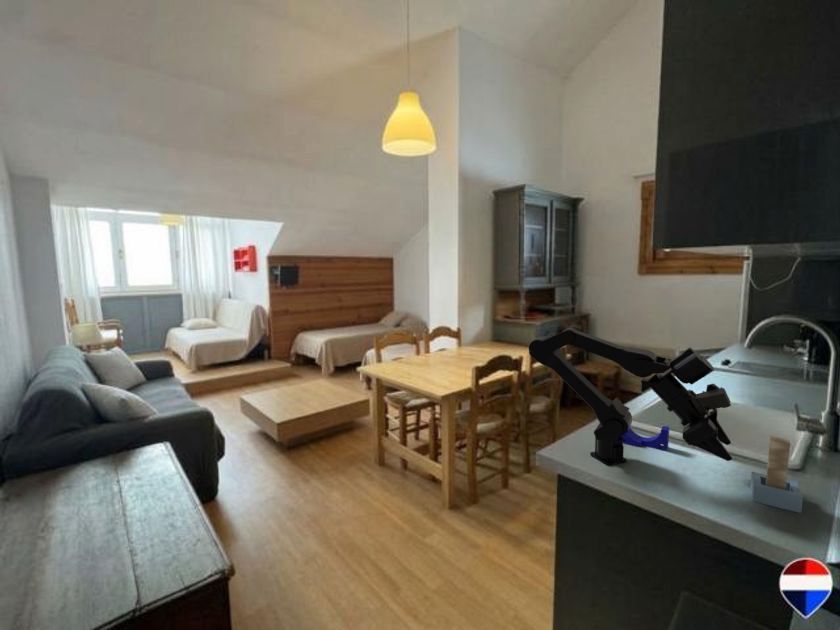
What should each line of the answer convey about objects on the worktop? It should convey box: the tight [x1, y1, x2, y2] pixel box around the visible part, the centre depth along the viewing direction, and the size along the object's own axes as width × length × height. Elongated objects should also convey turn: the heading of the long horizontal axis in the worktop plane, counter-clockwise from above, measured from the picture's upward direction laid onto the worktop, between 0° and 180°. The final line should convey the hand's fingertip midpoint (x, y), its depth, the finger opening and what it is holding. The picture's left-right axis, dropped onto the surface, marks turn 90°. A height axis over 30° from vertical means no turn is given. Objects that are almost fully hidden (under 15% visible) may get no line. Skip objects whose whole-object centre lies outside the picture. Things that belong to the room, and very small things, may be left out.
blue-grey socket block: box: [749, 471, 804, 514], centre depth 86 cm, size 8×7×4 cm
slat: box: [766, 435, 791, 490], centre depth 85 cm, size 3×2×13 cm, turn 53°
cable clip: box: [621, 425, 670, 452], centre depth 113 cm, size 12×4×6 cm, turn 51°
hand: (729, 451), depth 90 cm, fingers open, 9 cm apart
